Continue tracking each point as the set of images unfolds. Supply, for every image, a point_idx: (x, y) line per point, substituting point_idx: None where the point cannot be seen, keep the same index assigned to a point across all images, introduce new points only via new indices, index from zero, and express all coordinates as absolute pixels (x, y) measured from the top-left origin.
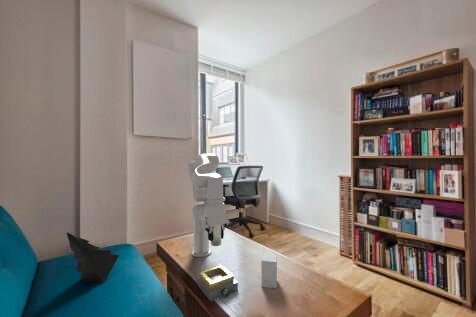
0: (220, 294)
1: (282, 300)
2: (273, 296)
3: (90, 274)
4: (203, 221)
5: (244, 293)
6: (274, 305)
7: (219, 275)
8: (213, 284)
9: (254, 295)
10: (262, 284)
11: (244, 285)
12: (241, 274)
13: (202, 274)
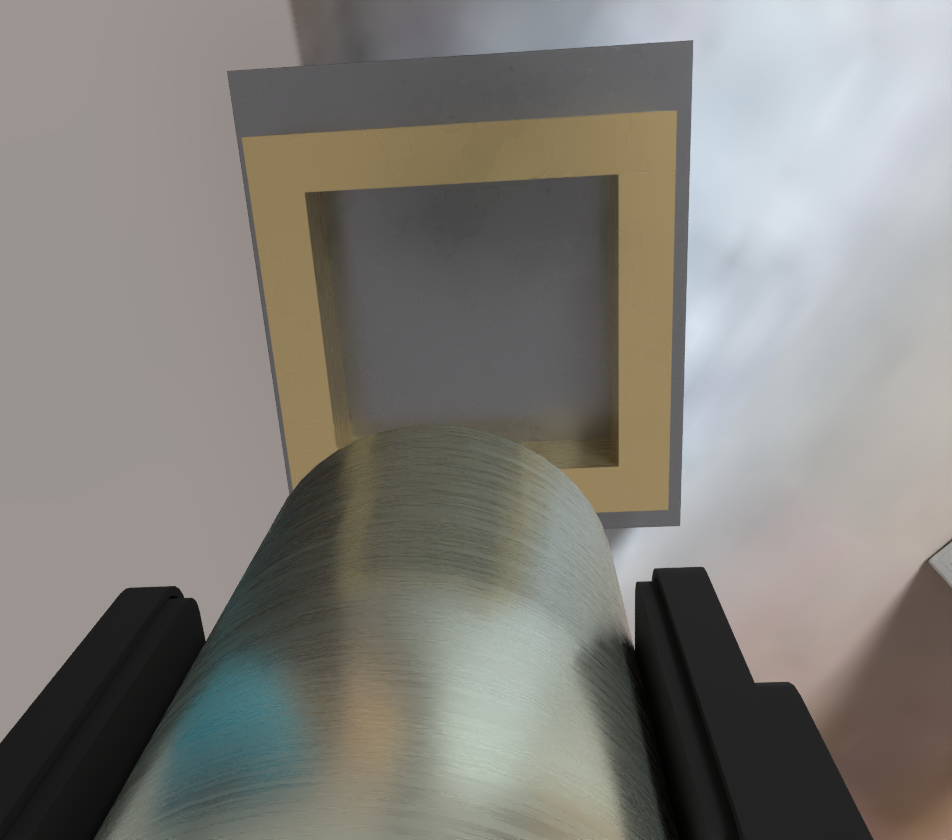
0: None
1: (919, 798)
2: (898, 725)
3: None
4: None
5: (691, 554)
6: None
7: (550, 259)
8: None
9: (756, 628)
10: (946, 581)
11: (784, 439)
12: (922, 204)
13: (267, 237)
